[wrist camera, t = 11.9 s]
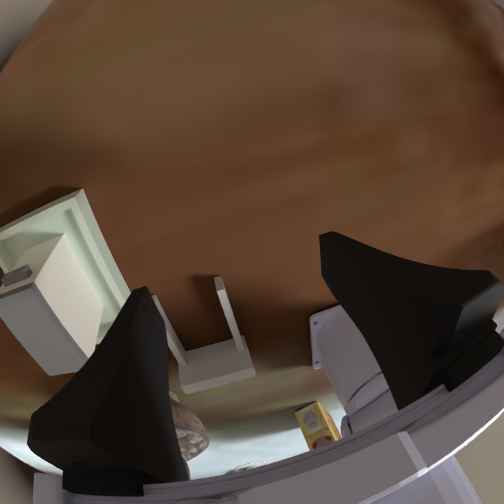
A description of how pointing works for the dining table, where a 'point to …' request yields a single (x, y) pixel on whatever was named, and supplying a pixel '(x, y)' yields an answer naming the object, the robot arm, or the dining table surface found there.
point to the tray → (81, 241)
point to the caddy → (51, 307)
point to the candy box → (317, 426)
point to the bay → (211, 354)
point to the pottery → (188, 431)
